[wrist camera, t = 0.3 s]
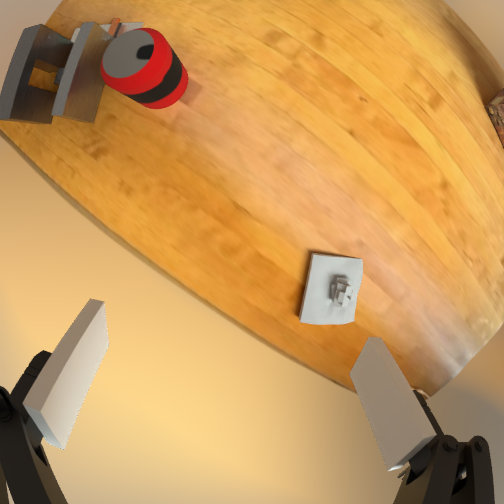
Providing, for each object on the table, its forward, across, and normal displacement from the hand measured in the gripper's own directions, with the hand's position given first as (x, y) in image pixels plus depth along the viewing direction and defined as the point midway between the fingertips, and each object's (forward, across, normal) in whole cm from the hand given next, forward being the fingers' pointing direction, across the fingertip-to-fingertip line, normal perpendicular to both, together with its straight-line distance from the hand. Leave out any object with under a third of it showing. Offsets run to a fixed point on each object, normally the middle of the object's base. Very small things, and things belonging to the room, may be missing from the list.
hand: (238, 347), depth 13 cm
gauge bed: (+30, -27, +17) cm, 44 cm away
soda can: (+29, -13, +15) cm, 35 cm away
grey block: (+29, -25, +17) cm, 43 cm away
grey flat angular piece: (+24, +16, -8) cm, 30 cm away
